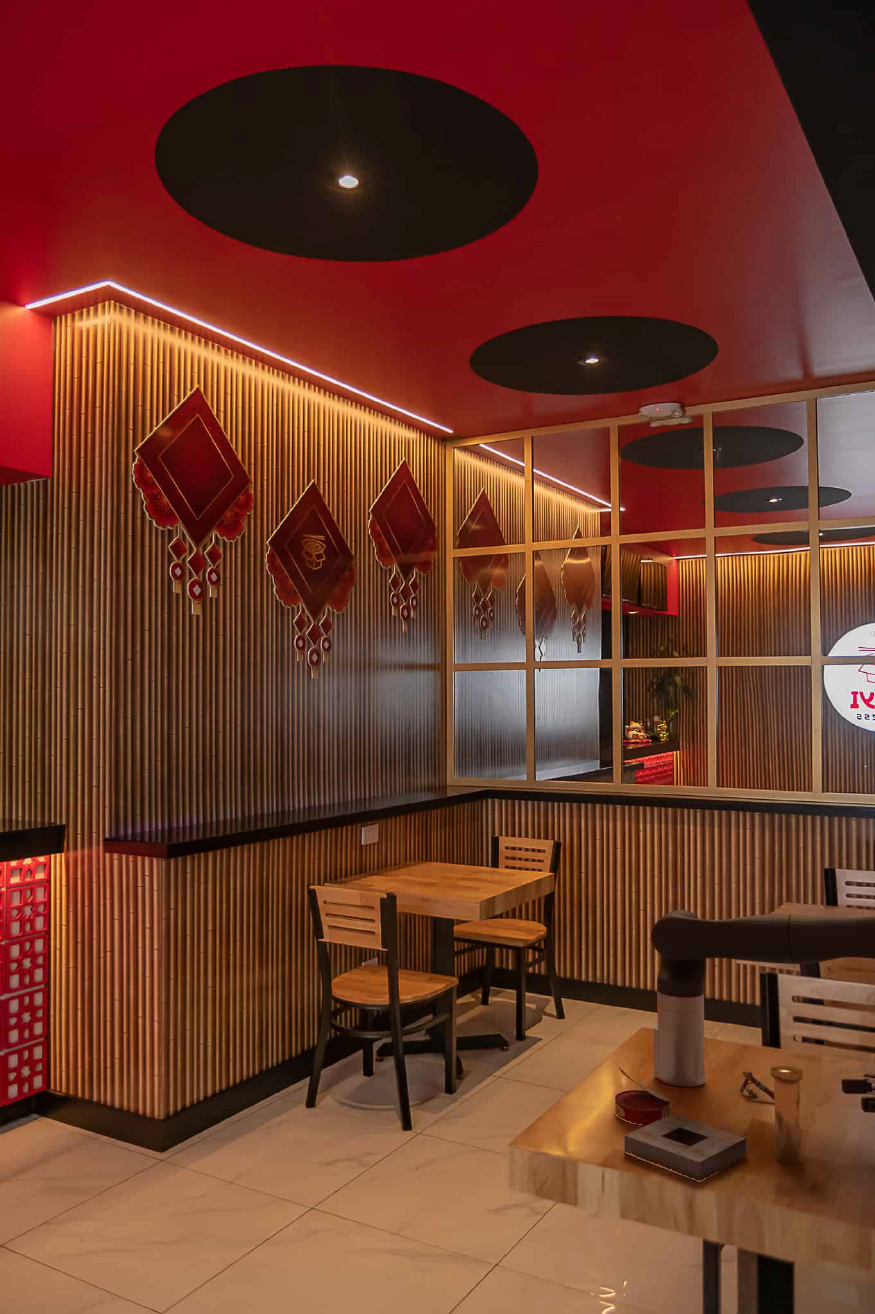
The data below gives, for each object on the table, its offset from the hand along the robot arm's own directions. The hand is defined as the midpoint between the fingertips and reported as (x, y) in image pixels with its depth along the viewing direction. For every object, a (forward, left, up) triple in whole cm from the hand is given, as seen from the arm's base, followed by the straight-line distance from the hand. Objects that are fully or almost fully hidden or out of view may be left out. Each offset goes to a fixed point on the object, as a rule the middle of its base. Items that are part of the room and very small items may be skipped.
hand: (851, 1095), depth 156 cm
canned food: (-35, -9, -11) cm, 37 cm away
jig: (-20, -19, -10) cm, 29 cm away
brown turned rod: (-24, +15, -11) cm, 30 cm away
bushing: (-8, -7, -10) cm, 15 cm away
